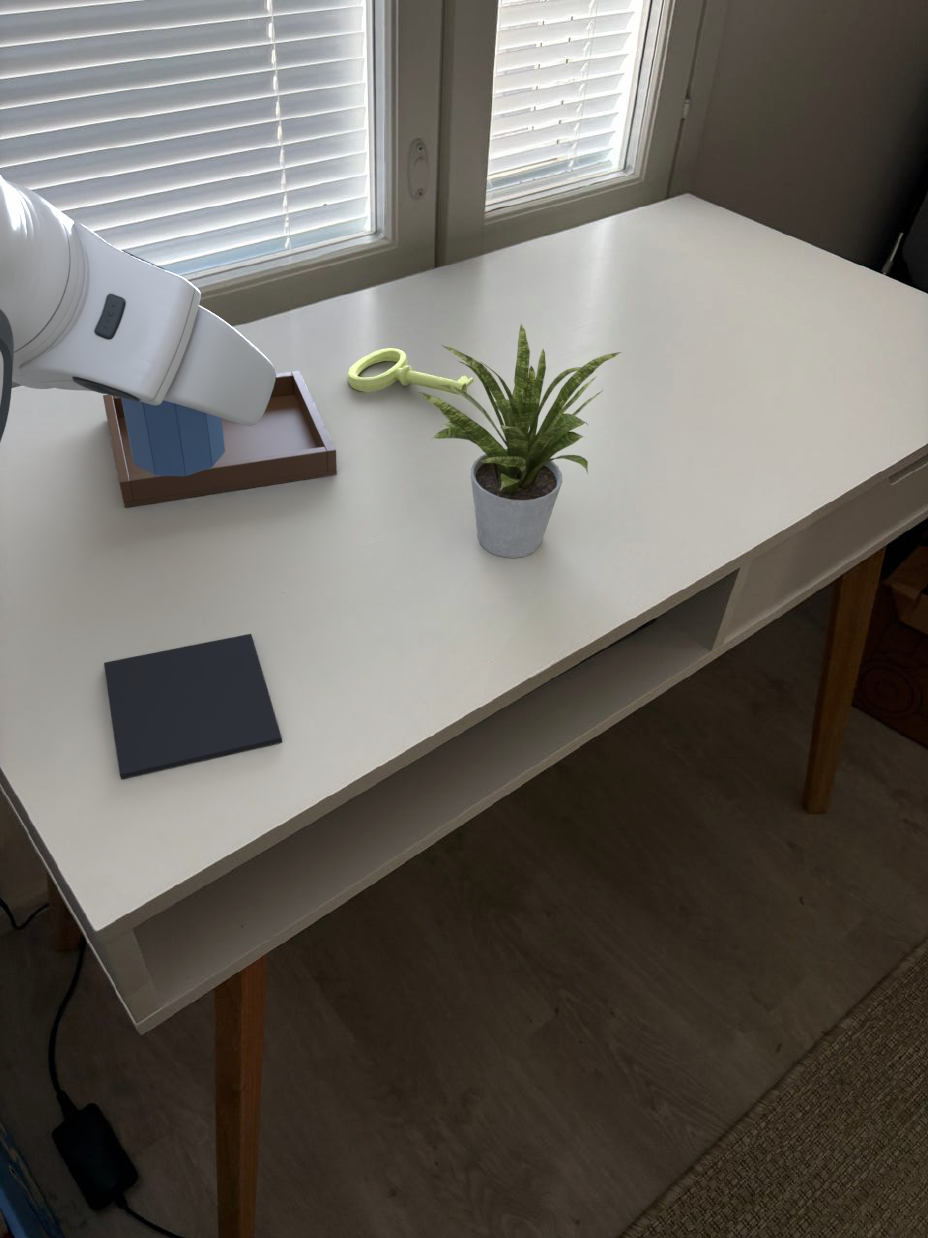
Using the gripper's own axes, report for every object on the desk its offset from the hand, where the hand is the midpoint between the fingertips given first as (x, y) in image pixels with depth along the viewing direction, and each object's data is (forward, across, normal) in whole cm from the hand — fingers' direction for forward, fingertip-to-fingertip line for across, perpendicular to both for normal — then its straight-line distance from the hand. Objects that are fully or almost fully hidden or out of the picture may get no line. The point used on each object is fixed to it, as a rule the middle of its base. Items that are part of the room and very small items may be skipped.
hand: (175, 381), depth 66 cm
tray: (+22, -9, -1) cm, 23 cm away
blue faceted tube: (+3, 0, -4) cm, 5 cm away
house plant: (+23, +19, 0) cm, 30 cm away
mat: (+3, +7, -20) cm, 21 cm away
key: (+34, 0, +11) cm, 36 cm away
